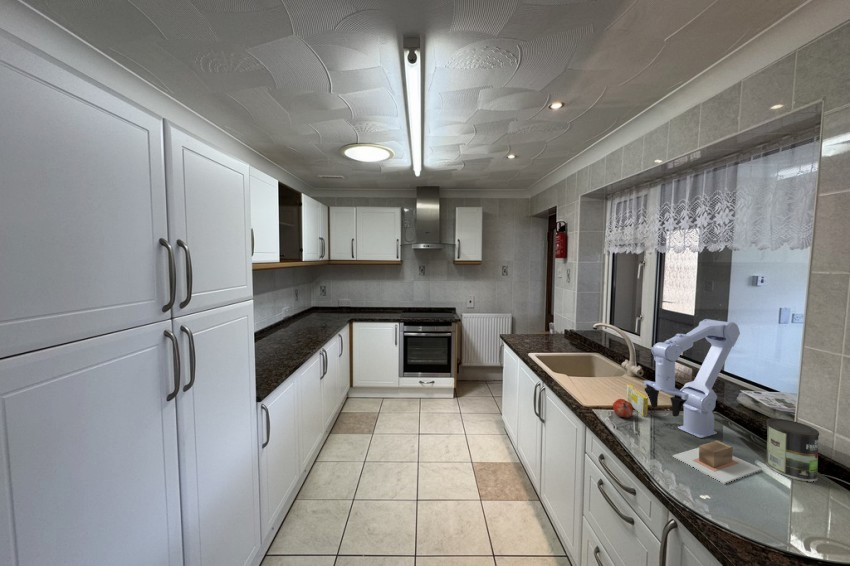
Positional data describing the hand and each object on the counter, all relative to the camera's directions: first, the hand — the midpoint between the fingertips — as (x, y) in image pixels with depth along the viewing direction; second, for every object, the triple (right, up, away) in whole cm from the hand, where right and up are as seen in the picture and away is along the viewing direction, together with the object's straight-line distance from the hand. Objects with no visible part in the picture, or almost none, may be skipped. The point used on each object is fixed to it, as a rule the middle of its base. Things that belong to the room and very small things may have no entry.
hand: (664, 411), depth 116 cm
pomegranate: (-5, -9, +17) cm, 20 cm away
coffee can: (+23, -10, -20) cm, 32 cm away
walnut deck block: (+4, -9, -16) cm, 19 cm away
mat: (+4, -10, -16) cm, 20 cm away
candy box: (+5, -9, +23) cm, 25 cm away
